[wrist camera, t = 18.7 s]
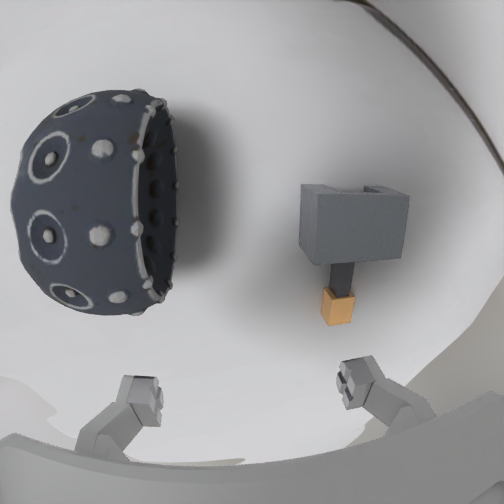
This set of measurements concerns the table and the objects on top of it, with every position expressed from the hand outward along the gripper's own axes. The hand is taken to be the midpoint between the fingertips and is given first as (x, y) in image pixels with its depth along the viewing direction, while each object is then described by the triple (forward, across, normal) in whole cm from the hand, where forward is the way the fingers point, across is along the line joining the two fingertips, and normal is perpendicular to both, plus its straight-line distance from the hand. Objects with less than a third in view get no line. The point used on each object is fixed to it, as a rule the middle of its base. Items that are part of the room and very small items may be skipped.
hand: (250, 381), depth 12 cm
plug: (+26, -15, +7) cm, 31 cm away
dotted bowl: (+26, +11, -4) cm, 29 cm away
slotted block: (+26, -15, +1) cm, 30 cm away
